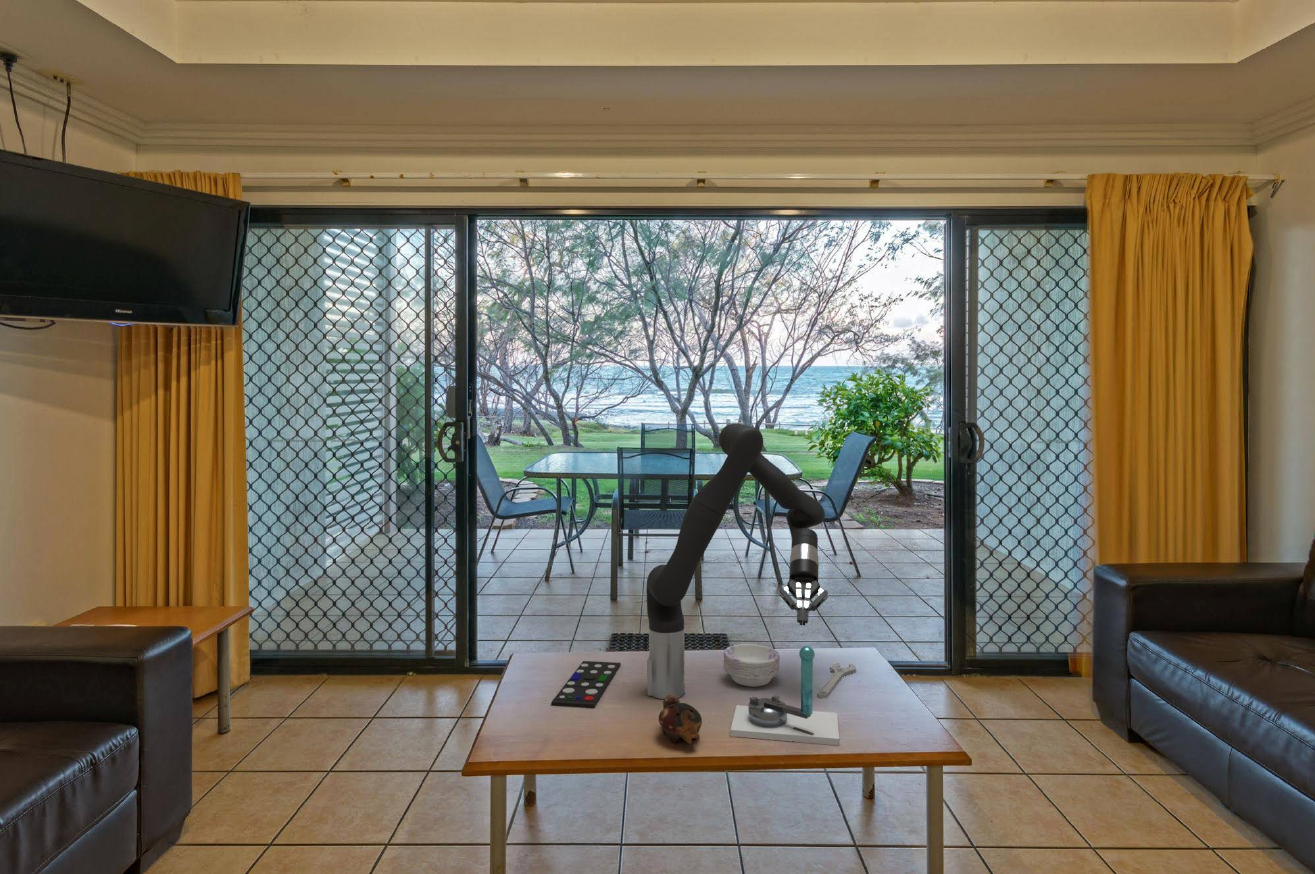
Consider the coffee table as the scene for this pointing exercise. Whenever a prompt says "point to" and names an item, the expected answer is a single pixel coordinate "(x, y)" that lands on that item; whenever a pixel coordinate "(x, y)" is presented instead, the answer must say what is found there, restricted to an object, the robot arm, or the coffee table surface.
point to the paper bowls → (751, 664)
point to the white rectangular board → (789, 728)
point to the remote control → (586, 685)
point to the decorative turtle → (679, 720)
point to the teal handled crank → (776, 710)
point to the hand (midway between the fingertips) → (802, 623)
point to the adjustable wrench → (835, 679)
